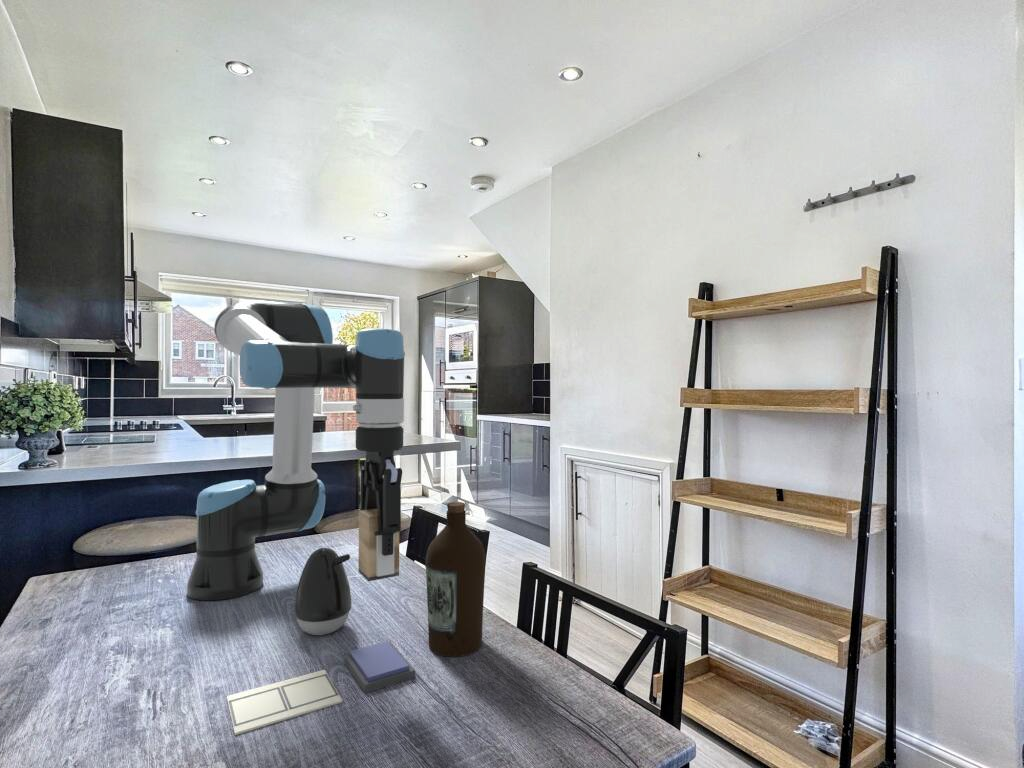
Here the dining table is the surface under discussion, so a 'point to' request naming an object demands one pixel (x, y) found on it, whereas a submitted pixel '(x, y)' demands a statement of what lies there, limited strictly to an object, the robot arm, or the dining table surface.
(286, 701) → the tag card
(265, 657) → the dining table surface
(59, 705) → the dining table surface
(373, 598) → the dining table surface
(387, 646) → the ink pad
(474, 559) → the olive oil
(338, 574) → the pump dispenser
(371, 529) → the tall wooden block
